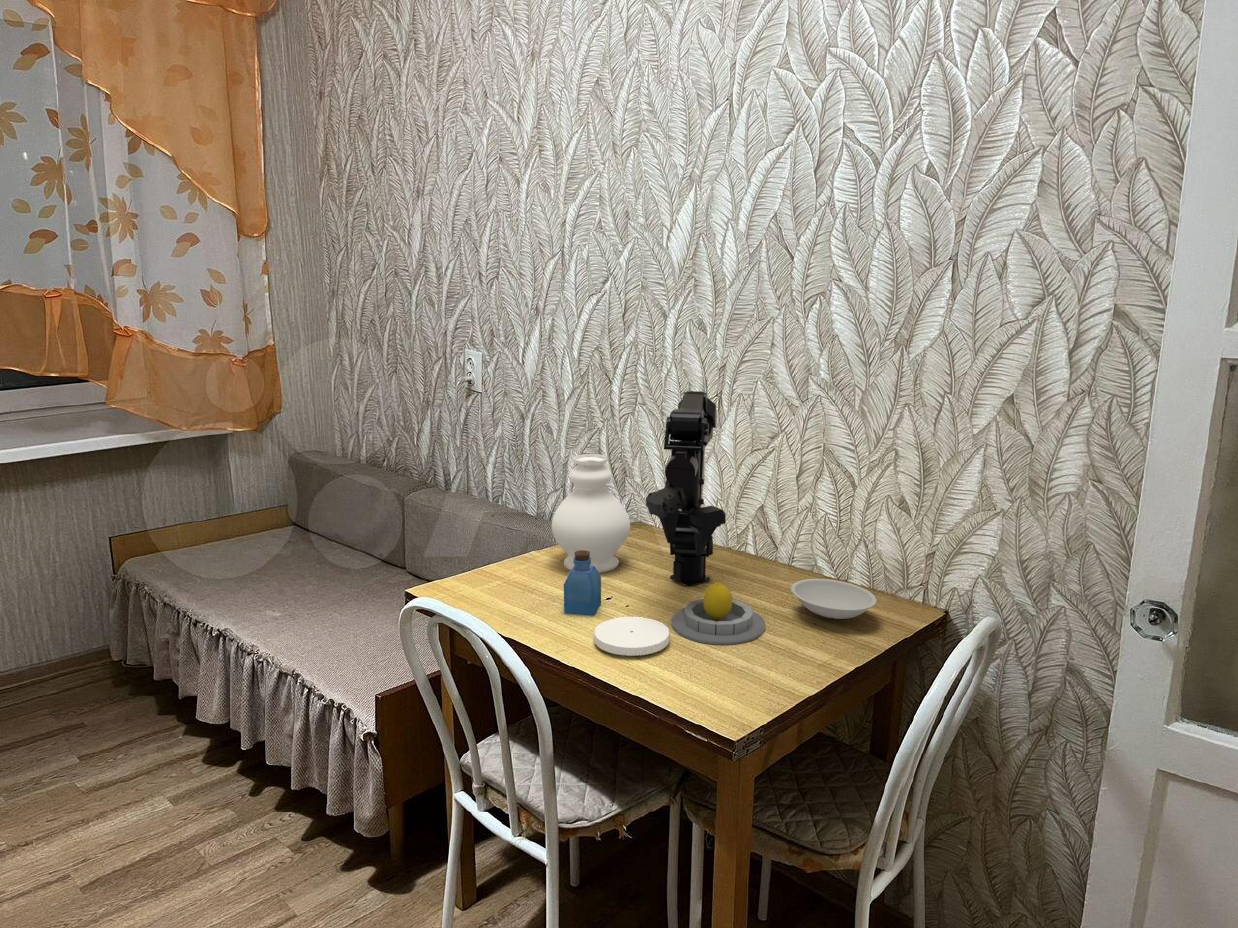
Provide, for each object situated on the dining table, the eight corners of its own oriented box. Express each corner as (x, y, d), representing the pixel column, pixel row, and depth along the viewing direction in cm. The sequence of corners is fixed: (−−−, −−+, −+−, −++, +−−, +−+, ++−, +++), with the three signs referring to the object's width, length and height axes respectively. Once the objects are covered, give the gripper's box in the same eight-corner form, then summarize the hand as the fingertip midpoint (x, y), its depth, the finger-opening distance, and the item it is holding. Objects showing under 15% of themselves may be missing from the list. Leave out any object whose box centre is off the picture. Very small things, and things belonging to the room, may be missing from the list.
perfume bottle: (594, 616, 189) (593, 559, 186) (564, 613, 190) (563, 556, 187) (601, 604, 195) (600, 548, 192) (571, 601, 196) (571, 546, 193)
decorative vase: (644, 559, 220) (645, 454, 214) (602, 583, 206) (601, 471, 200) (581, 546, 230) (580, 445, 224) (536, 567, 215) (534, 461, 209)
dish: (773, 613, 190) (774, 589, 189) (818, 595, 199) (819, 572, 198) (846, 641, 177) (848, 616, 176) (890, 621, 186) (892, 597, 185)
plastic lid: (684, 646, 176) (685, 633, 175) (626, 668, 167) (626, 654, 166) (636, 622, 186) (636, 610, 186) (579, 641, 178) (579, 629, 177)
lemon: (700, 616, 186) (701, 577, 185) (728, 614, 187) (729, 576, 185) (705, 627, 181) (706, 588, 179) (734, 626, 182) (735, 587, 180)
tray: (722, 600, 196) (722, 586, 196) (784, 629, 182) (785, 615, 181) (653, 620, 186) (653, 606, 186) (713, 653, 172) (713, 637, 171)
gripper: (624, 470, 190) (624, 544, 194) (683, 490, 176) (682, 570, 179) (668, 462, 197) (667, 534, 200) (728, 481, 182) (726, 558, 186)
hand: (684, 548), depth 191 cm, fingers open, 9 cm apart
